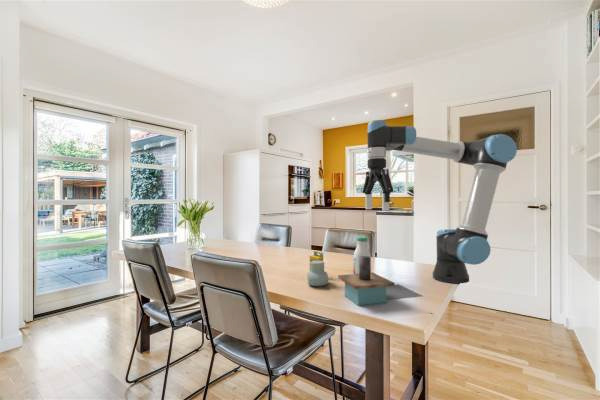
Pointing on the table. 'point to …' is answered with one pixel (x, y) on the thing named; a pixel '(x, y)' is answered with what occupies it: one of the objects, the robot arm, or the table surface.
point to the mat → (399, 292)
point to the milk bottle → (361, 253)
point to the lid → (365, 277)
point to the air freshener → (317, 274)
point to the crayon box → (316, 257)
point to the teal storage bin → (366, 295)
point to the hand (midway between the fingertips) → (376, 210)
